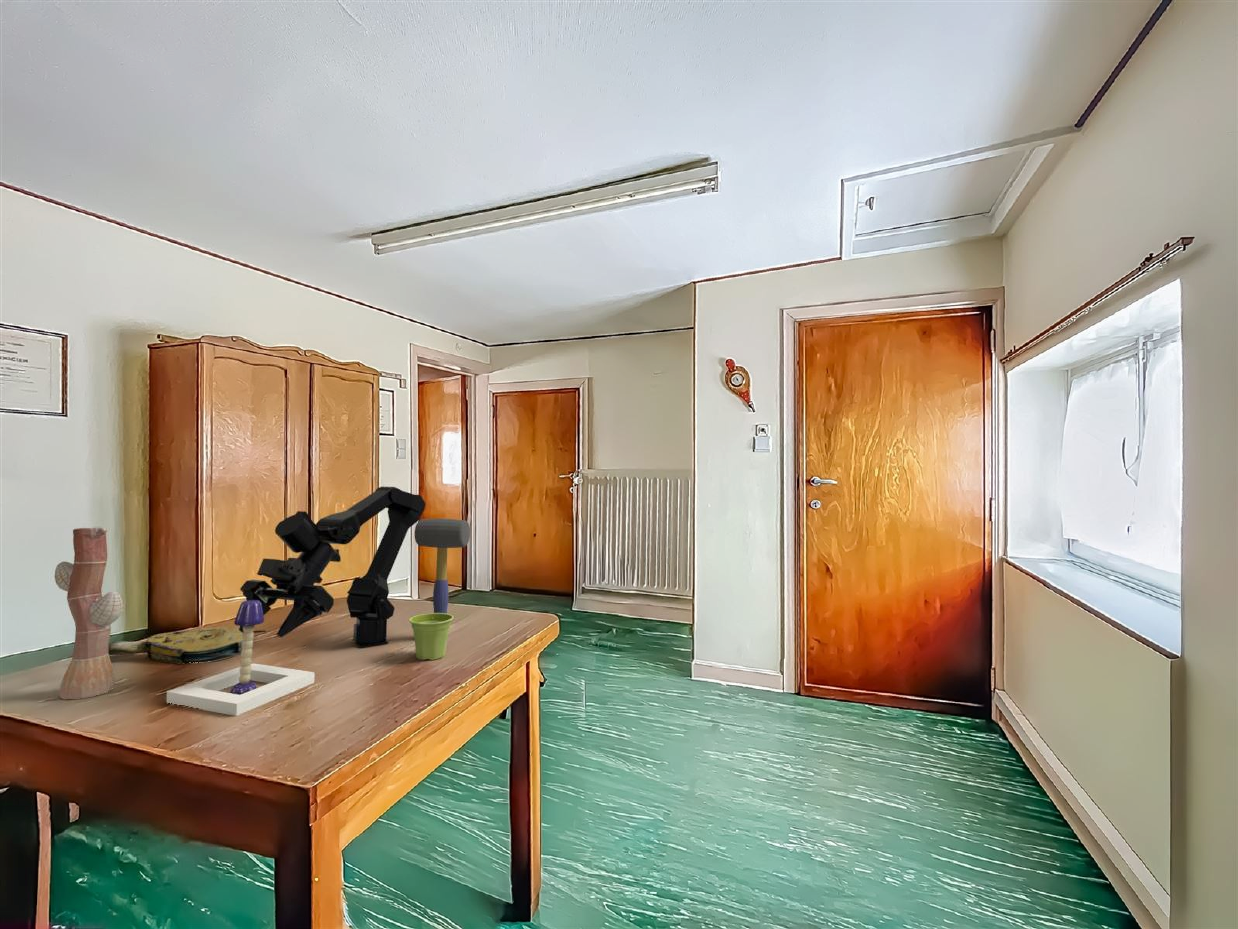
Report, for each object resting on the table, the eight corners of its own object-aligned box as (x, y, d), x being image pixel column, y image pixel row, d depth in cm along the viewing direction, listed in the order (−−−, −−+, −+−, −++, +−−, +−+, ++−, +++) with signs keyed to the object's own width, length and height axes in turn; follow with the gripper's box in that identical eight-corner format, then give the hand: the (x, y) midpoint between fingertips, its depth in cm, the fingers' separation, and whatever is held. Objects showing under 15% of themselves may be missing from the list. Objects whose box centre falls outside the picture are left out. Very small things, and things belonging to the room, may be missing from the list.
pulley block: (116, 622, 124) (267, 616, 132) (117, 647, 125) (267, 639, 133) (73, 651, 111) (245, 642, 119) (75, 678, 111) (245, 668, 120)
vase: (127, 687, 103) (134, 526, 104) (80, 702, 96) (88, 529, 97) (86, 681, 106) (94, 524, 107) (38, 695, 99) (46, 527, 100)
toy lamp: (246, 686, 105) (250, 598, 106) (267, 688, 104) (271, 599, 105) (223, 695, 100) (227, 603, 101) (245, 698, 99) (249, 604, 100)
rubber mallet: (408, 641, 136) (412, 518, 137) (422, 632, 143) (425, 516, 144) (458, 643, 135) (461, 520, 136) (468, 634, 142) (472, 518, 143)
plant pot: (424, 666, 118) (425, 625, 118) (399, 657, 124) (401, 618, 124) (460, 655, 126) (461, 617, 126) (436, 647, 131) (437, 610, 132)
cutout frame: (250, 673, 112) (251, 663, 112) (314, 682, 107) (314, 672, 108) (166, 703, 97) (166, 691, 97) (236, 716, 92) (236, 703, 92)
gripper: (250, 540, 113) (193, 606, 102) (324, 544, 108) (272, 615, 97) (282, 572, 120) (232, 637, 110) (353, 578, 115) (308, 647, 104)
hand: (259, 633), depth 105 cm, fingers open, 9 cm apart
